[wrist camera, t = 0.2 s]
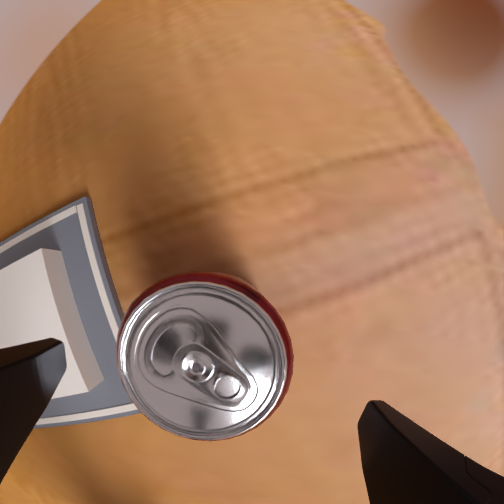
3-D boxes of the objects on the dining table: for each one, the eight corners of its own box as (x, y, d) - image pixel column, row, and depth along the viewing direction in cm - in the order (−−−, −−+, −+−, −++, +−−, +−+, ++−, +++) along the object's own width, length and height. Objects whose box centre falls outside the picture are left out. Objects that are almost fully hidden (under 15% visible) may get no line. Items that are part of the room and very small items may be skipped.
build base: (161, 404, 22) (148, 425, 18) (22, 426, 21) (2, 439, 17) (90, 198, 23) (67, 186, 19) (-30, 266, 22) (-54, 265, 18)
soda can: (154, 323, 22) (79, 366, 10) (214, 252, 23) (187, 230, 11) (226, 383, 22) (215, 474, 10) (287, 314, 23) (335, 355, 11)
